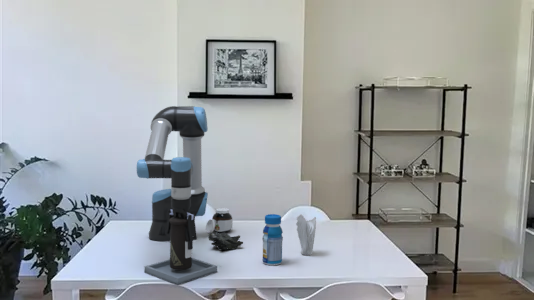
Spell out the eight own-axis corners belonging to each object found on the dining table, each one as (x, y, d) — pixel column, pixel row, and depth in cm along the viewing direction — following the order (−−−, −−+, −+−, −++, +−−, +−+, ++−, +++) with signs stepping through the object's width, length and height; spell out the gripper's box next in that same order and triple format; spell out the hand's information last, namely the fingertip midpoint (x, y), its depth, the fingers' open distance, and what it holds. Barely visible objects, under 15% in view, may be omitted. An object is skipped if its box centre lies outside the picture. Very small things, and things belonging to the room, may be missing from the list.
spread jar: (234, 231, 268) (234, 209, 267) (221, 236, 259) (221, 213, 258) (216, 228, 275) (216, 206, 274) (202, 232, 265) (202, 210, 264)
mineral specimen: (227, 243, 227) (222, 222, 232) (205, 254, 233) (201, 233, 237) (247, 248, 239) (243, 227, 244) (226, 257, 244) (222, 237, 249)
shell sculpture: (317, 252, 234) (318, 213, 233) (313, 257, 227) (314, 216, 225) (300, 250, 237) (300, 211, 235) (294, 255, 229) (295, 215, 228)
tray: (144, 272, 204) (144, 266, 204) (184, 261, 219) (184, 255, 219) (177, 285, 191) (177, 278, 191) (217, 272, 206) (217, 265, 206)
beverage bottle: (275, 267, 213) (276, 219, 211) (258, 263, 217) (258, 216, 215) (286, 261, 220) (286, 215, 218) (268, 258, 225) (269, 212, 223)
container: (170, 263, 209) (170, 214, 207) (193, 263, 209) (193, 214, 207) (168, 270, 200) (168, 219, 198) (191, 270, 201) (192, 219, 199)
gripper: (156, 195, 206) (156, 251, 208) (191, 202, 192) (191, 262, 195) (171, 192, 212) (171, 247, 214) (206, 200, 198) (206, 258, 200)
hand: (181, 254), depth 204 cm, fingers closed on container, 8 cm apart
